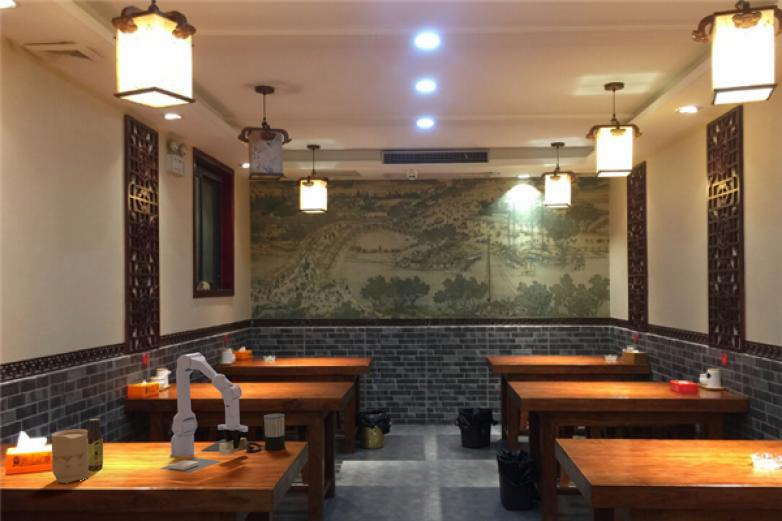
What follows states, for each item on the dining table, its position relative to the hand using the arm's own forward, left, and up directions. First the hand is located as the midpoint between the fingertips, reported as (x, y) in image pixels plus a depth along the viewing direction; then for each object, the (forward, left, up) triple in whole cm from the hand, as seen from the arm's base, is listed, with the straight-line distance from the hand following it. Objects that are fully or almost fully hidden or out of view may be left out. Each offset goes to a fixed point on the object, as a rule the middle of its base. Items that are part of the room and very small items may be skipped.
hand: (233, 448), depth 288 cm
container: (-41, -46, -5) cm, 62 cm away
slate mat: (-10, -14, -5) cm, 18 cm away
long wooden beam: (0, 0, -2) cm, 2 cm away
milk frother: (+2, +19, -5) cm, 19 cm away
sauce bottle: (-46, -31, -5) cm, 56 cm away
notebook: (-20, +17, -6) cm, 27 cm away
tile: (-10, -14, -3) cm, 17 cm away
